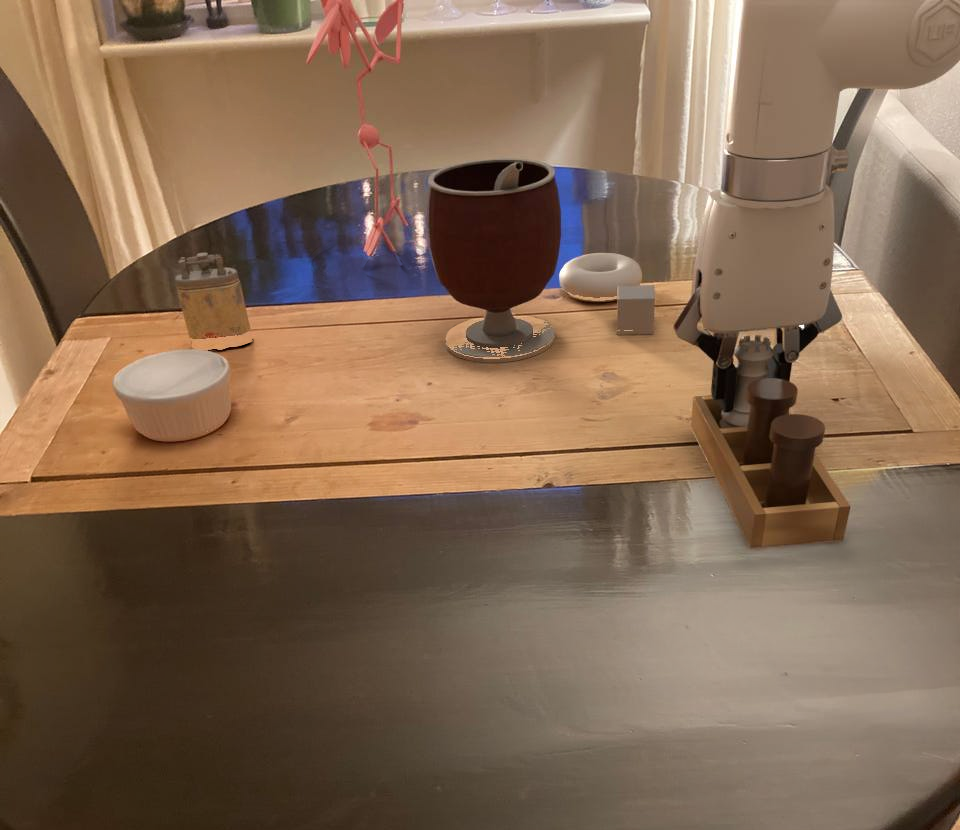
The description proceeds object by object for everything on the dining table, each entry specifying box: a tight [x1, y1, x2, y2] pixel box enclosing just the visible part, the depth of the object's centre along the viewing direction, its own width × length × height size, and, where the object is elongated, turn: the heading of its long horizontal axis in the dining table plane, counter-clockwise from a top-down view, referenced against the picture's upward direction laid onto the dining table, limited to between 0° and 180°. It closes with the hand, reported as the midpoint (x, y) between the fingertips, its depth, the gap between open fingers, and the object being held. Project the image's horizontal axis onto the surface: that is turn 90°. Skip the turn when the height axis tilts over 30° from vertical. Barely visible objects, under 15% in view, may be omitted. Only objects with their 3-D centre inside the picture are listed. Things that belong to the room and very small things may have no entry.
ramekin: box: [112, 348, 232, 443], centre depth 94 cm, size 11×11×5 cm
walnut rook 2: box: [761, 413, 826, 508], centre depth 72 cm, size 4×4×8 cm
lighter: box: [174, 252, 251, 339], centre depth 107 cm, size 7×4×10 cm, turn 99°
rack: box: [690, 394, 851, 549], centre depth 79 cm, size 7×20×4 cm, turn 3°
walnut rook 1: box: [739, 378, 799, 466], centre depth 77 cm, size 4×4×8 cm
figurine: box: [305, 0, 409, 257], centre depth 121 cm, size 15×26×35 cm, turn 170°
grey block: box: [616, 284, 656, 336], centre depth 105 cm, size 4×4×4 cm
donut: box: [558, 252, 643, 303], centre depth 115 cm, size 10×4×10 cm
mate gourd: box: [425, 157, 562, 364], centre depth 99 cm, size 16×14×20 cm
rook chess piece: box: [719, 334, 774, 429], centre depth 81 cm, size 4×4×8 cm
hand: (748, 401), depth 82 cm, fingers closed on rook chess piece, 3 cm apart
